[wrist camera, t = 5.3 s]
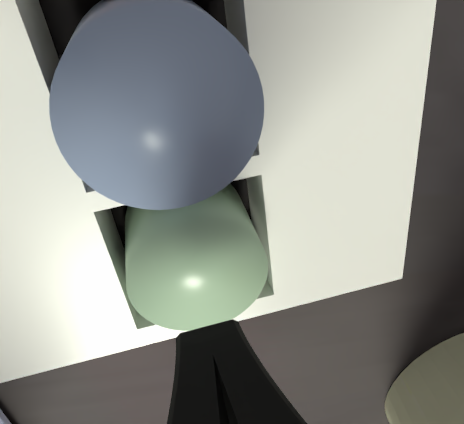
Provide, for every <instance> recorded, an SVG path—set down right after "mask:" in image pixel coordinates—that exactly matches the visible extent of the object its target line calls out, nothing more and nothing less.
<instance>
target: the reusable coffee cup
mask: <svg viewBox="0 0 464 424" xmlns="http://www.w3.org/2000/svg"><path fill="white" fill-rule="evenodd" d="M385 413H386V416H387V418H388V420H389V423H390V424H464V333H462V334H459V335H456V336H454V337H452V338H450V339H447V340H445V341H443V342H441V343H439V344H438V345H436V346H434V347H433V348H431V349H429V350H428V351H426V352H425V353H423V354H422V355H421V356H419V357H418V358H417V359H415V360H414V361H413V362H412V363H411V364H410V365H409V366H408V367H407V368H406V369H405V370H403V371H402V372H401V374H400V375H399V376H398V377H397V379H396V380H395V381H394V383H393V384H392V386H391V388H390V390H389V392H388V393H387V397H386V400H385Z"/></svg>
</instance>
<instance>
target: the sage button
mask: <svg viewBox="0 0 464 424" xmlns="http://www.w3.org/2000/svg"><path fill="white" fill-rule="evenodd" d="M125 266H126V290H127V294H128V298H129V300H130V302H131V304H132V305H133V307H134V308H135V310H136V311H137V312H138V313H139V314H140V315H141V316H143V317H144V318H145V319H146V320H148V321H150V322H152V323H153V324H156V325H158V326H161V327H164V328H168V329H173V330H181V331H190V330H194V329H198V328H201V327H205V326H209V325H213V324H217V323H220V322H224V321H228V320H231V319H233V318H235V317H237V316H238V315H240V314H241V313H242V312H244V311H245V310H246V309H247V308H248V307H249V306H250V305H251V304H252V303H253V302H254V301H255V300H256V299H257V297H258V296H259V294H260V293H261V291H262V289H263V287H264V285H265V282H266V279H267V275H268V260H267V255H266V253H265V250H264V248H263V246H262V243H261V241H260V239H259V237H258V235H257V233H256V230H255V228H254V226H253V224H252V222H251V220H250V218H249V215H248V213H247V211H246V209H245V207H244V205H243V202H242V200H241V198H240V196H239V194H238V193H237V191H236V189H235V188H234V187H233V186H232V185H231V184H228V185H227V186H226V187H225V188H223V189H222V190H221V191H219V192H218V193H216V194H215V195H213V196H211V197H209V198H207V199H205V200H203V201H200V202H198V203H196V204H193V205H189V206H186V207H181V208H176V209H168V210H148V209H141V208H135V207H131V206H128V207H127V211H126V215H125Z"/></svg>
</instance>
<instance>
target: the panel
mask: <svg viewBox="0 0 464 424" xmlns="http://www.w3.org/2000/svg"><path fill="white" fill-rule="evenodd" d="M224 7H225V15H226V23H227V30H228V31H229V32H230V33H231V34H232V35H234V36H235V37H236V38H237V40H238V41H239V42H240V43H241V44H242V46H243V47H244V48H245V49H246V51H247V53H248V54H249V56H250V57H251V59H252V61H253V63H254V65H255V67H256V70H257V72H258V74H259V78H260V81H261V85H262V89H263V96H264V120H263V127H262V131H261V135H260V139H259V141H258V144H257V147H256V149H255V151H254V153H253V155H252V157H251V159H250V160H249V162H248V163H247V165H246V166H245V167H244V169H243V170H242V171H241V172H240V174H239V175H238V176H237V177H236V178H235V179H234V180H233V181H235V180H240V179H244V178H246V181H247V189H248V197H249V205H250V213H251V221H252V224H253V226H254V228H255V230H256V233H257V235H258V237H259V239H260V241H261V243H262V246H263V248H264V250H265V253H266V255H267V260H268V275H267V279H266V282H265V285H264V287H263V289H262V291H261V293H260V294H259V296H258V297H257V299H256V300H255V301H254V302H253V303H252V304H251V305H250V306H249V307H248V308H247V309H246V310H245V311H244V312H242V313H241V314H240V315H238V316H237V317H235V318H233V319H234V320H236V321H240V320H244V319H248V318H252V317H256V316H260V315H264V314H267V313H271V312H275V311H279V310H283V309H287V308H290V307H294V306H298V305H302V304H306V303H310V302H314V301H317V300H321V299H325V298H329V297H333V296H337V295H340V294H344V293H348V292H352V291H356V290H360V289H364V288H367V287H371V286H375V285H379V284H383V283H387V282H390V281H394V280H398V279H402V276H403V268H404V260H405V252H406V244H407V235H408V227H409V219H410V211H411V203H412V195H413V187H414V178H415V170H416V162H417V154H418V146H419V138H420V130H421V122H422V113H423V105H424V97H425V89H426V81H427V73H428V65H429V57H430V48H431V40H432V32H433V24H434V16H435V8H436V0H224ZM58 64H59V58H58V55H57V52H56V49H55V46H54V43H53V40H52V38H51V35H50V32H49V29H48V26H47V23H46V20H45V17H44V14H43V11H42V8H41V6H40V3H39V0H0V383H2V382H6V381H10V380H14V379H17V378H21V377H25V376H29V375H33V374H37V373H41V372H44V371H48V370H52V369H56V368H60V367H64V366H67V365H71V364H75V363H79V362H83V361H87V360H91V359H94V358H98V357H102V356H106V355H110V354H114V353H117V352H121V351H125V350H129V349H133V348H137V347H141V346H144V345H148V344H152V343H156V342H160V341H164V340H167V339H171V338H175V337H177V336H178V335H179V334H180V333H182V332H186V331H181V330H173V329H168V328H164V327H161V326H158V325H156V324H153V323H152V322H150V321H148V320H146V319H145V318H144V317H143V316H141V315H140V314H139V313H138V312H137V311H136V310H135V308H134V307H133V305H132V304H131V302H130V300H129V298H128V294H127V290H126V266H125V250H124V247H123V244H122V241H121V238H120V236H119V233H118V230H117V227H116V224H115V221H114V218H113V215H112V212H111V209H110V208H114V207H119V206H123V205H124V204H120V203H118V202H116V201H113V200H111V199H109V198H107V197H105V196H103V195H101V194H100V193H98V192H96V191H95V190H94V189H92V188H91V187H90V186H88V185H87V184H86V183H85V182H84V181H83V180H82V179H80V178H79V177H78V176H77V175H76V173H75V172H74V171H73V170H72V169H71V167H70V166H69V165H68V163H67V162H66V160H65V159H64V157H63V155H62V154H61V152H60V150H59V147H58V145H57V143H56V141H55V137H54V134H53V131H52V127H51V121H50V115H49V97H50V89H51V84H52V80H53V77H54V73H55V70H56V68H57V66H58ZM231 320H232V319H231Z"/></svg>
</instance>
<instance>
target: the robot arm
mask: <svg viewBox="0 0 464 424" xmlns="http://www.w3.org/2000/svg"><path fill="white" fill-rule="evenodd" d="M0 424H11V423H10V421H9V420H8V419H7V417H6V416H5V415H4V413H3V412H2V411H1V409H0ZM167 424H307V423H306V422H305V421H304V419H303V418H302V417H301V416H300V414H299V413H298V412H297V411H296V409H295V408H294V407H293V406H292V404H291V403H290V402H289V401H288V399H287V398H286V397H285V395H284V394H283V393H282V391H281V390H280V389H279V387H278V386H277V385H276V383H275V382H274V380H273V379H272V378H271V376H270V375H269V373H268V372H267V371H266V369H265V368H264V366H263V365H262V363H261V362H260V360H259V359H258V357H257V355H256V354H255V352H254V351H253V349H252V347H251V346H250V344H249V342H248V341H247V339H246V337H245V335H244V333H243V331H242V329H241V327H240V325H239V322H238V321H236V320H234V319H232V320H228V321H224V322H220V323H217V324H213V325H209V326H205V327H201V328H198V329H194V330H190V331H186V332H182V333H180V334H179V335H178V336H177V337H176V364H175V375H174V383H173V391H172V398H171V404H170V409H169V415H168V421H167Z"/></svg>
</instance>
